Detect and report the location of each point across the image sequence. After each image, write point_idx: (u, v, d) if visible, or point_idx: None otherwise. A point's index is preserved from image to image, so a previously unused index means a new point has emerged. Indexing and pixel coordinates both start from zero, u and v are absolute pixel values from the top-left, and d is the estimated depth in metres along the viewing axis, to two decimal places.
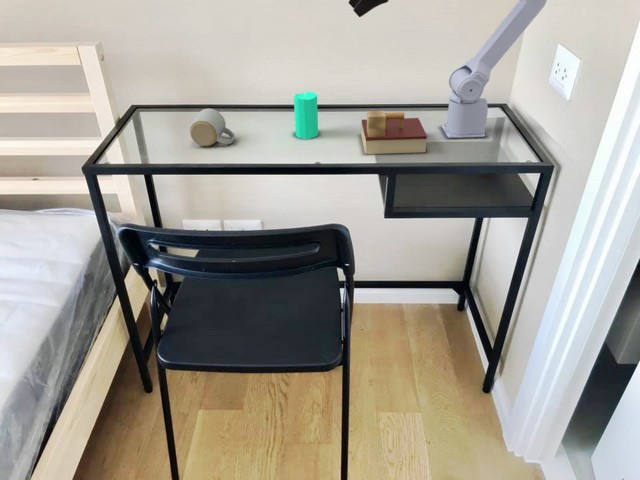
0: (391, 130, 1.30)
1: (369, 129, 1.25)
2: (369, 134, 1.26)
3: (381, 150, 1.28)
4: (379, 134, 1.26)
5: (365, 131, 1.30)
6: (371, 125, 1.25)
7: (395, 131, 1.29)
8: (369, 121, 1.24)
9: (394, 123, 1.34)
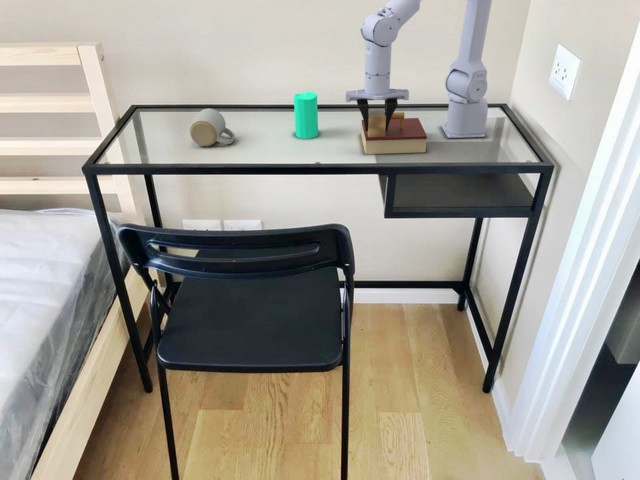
0: (391, 130, 1.30)
1: (369, 129, 1.25)
2: (369, 134, 1.26)
3: (381, 150, 1.28)
4: (379, 134, 1.26)
5: (365, 131, 1.30)
6: (371, 125, 1.25)
7: (395, 131, 1.29)
8: (369, 121, 1.24)
9: (394, 123, 1.34)
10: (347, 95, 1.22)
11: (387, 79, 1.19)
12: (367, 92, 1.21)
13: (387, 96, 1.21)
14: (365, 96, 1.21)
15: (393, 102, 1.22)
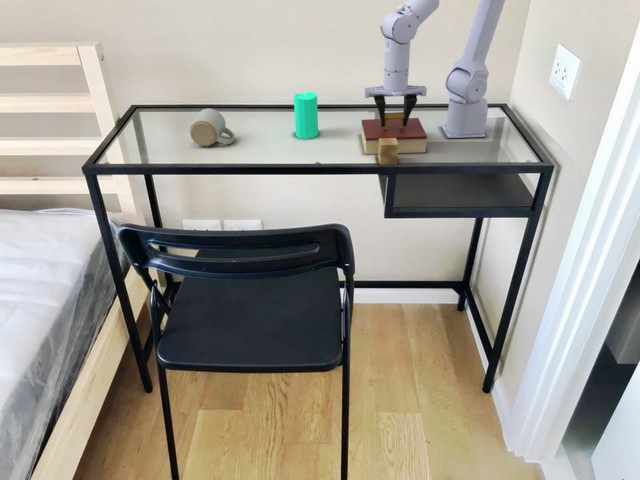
0: (391, 130, 1.30)
1: (381, 157, 1.22)
2: (381, 162, 1.23)
3: None
4: (391, 162, 1.23)
5: (365, 131, 1.30)
6: (383, 153, 1.22)
7: (395, 131, 1.29)
8: (381, 149, 1.21)
9: (394, 123, 1.34)
10: (366, 91, 1.25)
11: (406, 76, 1.22)
12: (386, 88, 1.24)
13: (405, 92, 1.24)
14: (384, 92, 1.24)
15: (413, 98, 1.25)
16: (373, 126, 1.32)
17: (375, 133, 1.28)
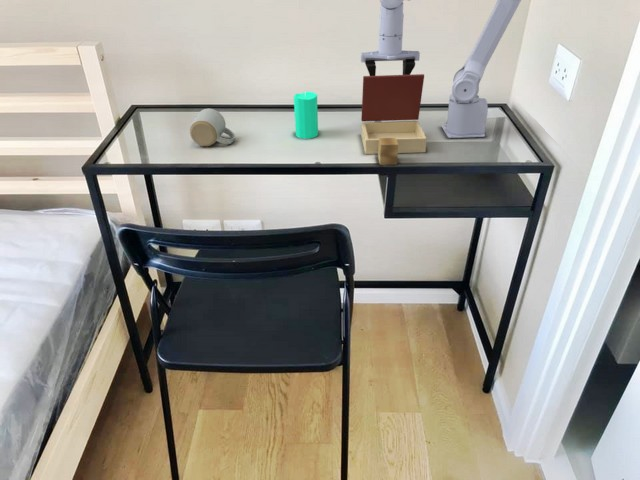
0: None
1: (381, 157, 1.22)
2: (381, 162, 1.23)
3: None
4: (391, 162, 1.23)
5: None
6: (383, 153, 1.22)
7: None
8: (381, 149, 1.21)
9: None
10: (362, 56, 1.32)
11: (400, 40, 1.29)
12: (381, 53, 1.31)
13: (399, 56, 1.31)
14: (379, 56, 1.31)
15: (411, 62, 1.32)
16: None
17: None
